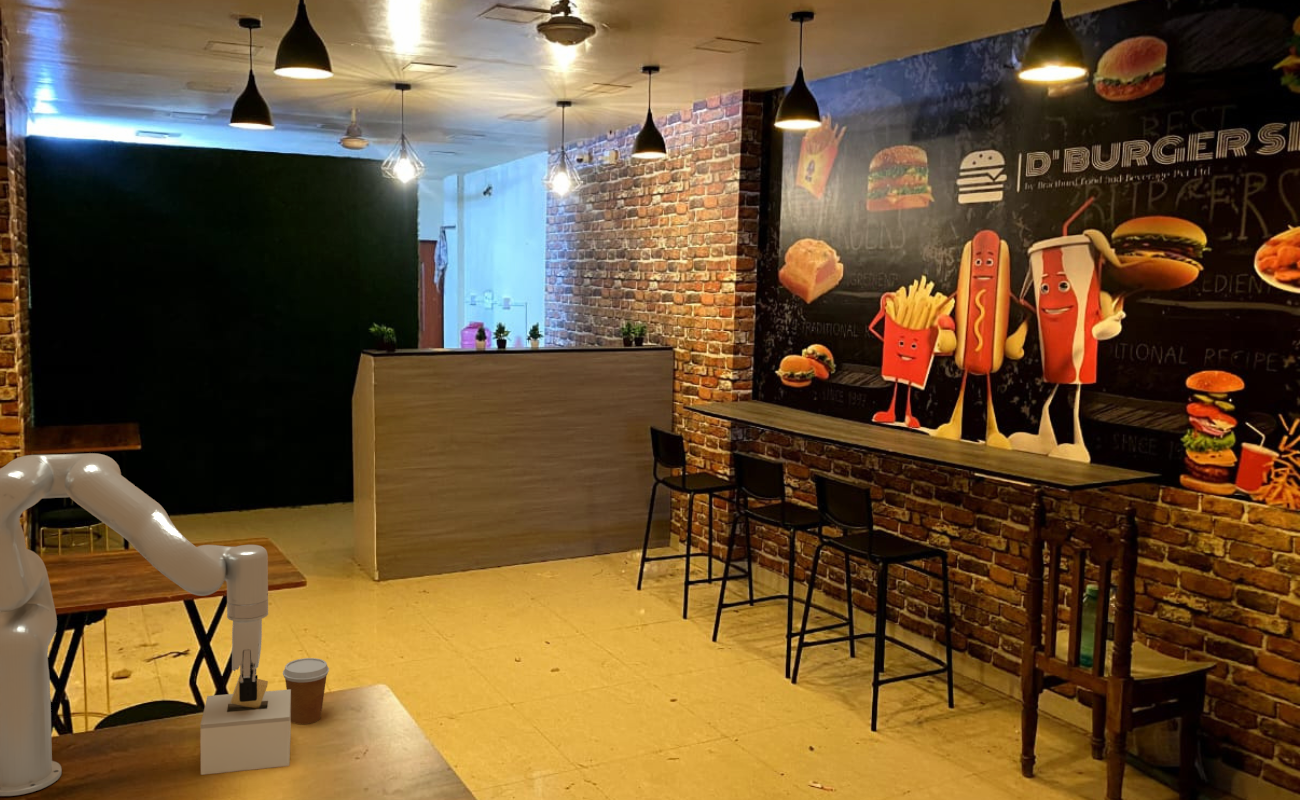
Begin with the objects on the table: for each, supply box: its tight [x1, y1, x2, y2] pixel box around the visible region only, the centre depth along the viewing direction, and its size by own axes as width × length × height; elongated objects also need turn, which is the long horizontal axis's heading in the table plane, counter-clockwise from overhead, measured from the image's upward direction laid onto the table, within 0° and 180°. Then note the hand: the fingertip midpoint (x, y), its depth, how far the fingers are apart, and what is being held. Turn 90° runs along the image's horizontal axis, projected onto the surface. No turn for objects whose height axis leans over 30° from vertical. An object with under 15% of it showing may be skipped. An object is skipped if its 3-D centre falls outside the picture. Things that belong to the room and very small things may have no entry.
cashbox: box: [200, 689, 292, 775], centre depth 204 cm, size 16×14×10 cm
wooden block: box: [231, 675, 269, 709], centre depth 203 cm, size 5×2×6 cm
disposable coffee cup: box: [282, 657, 330, 725], centre depth 222 cm, size 10×10×12 cm
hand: (248, 697), depth 203 cm, fingers closed on wooden block, 2 cm apart
